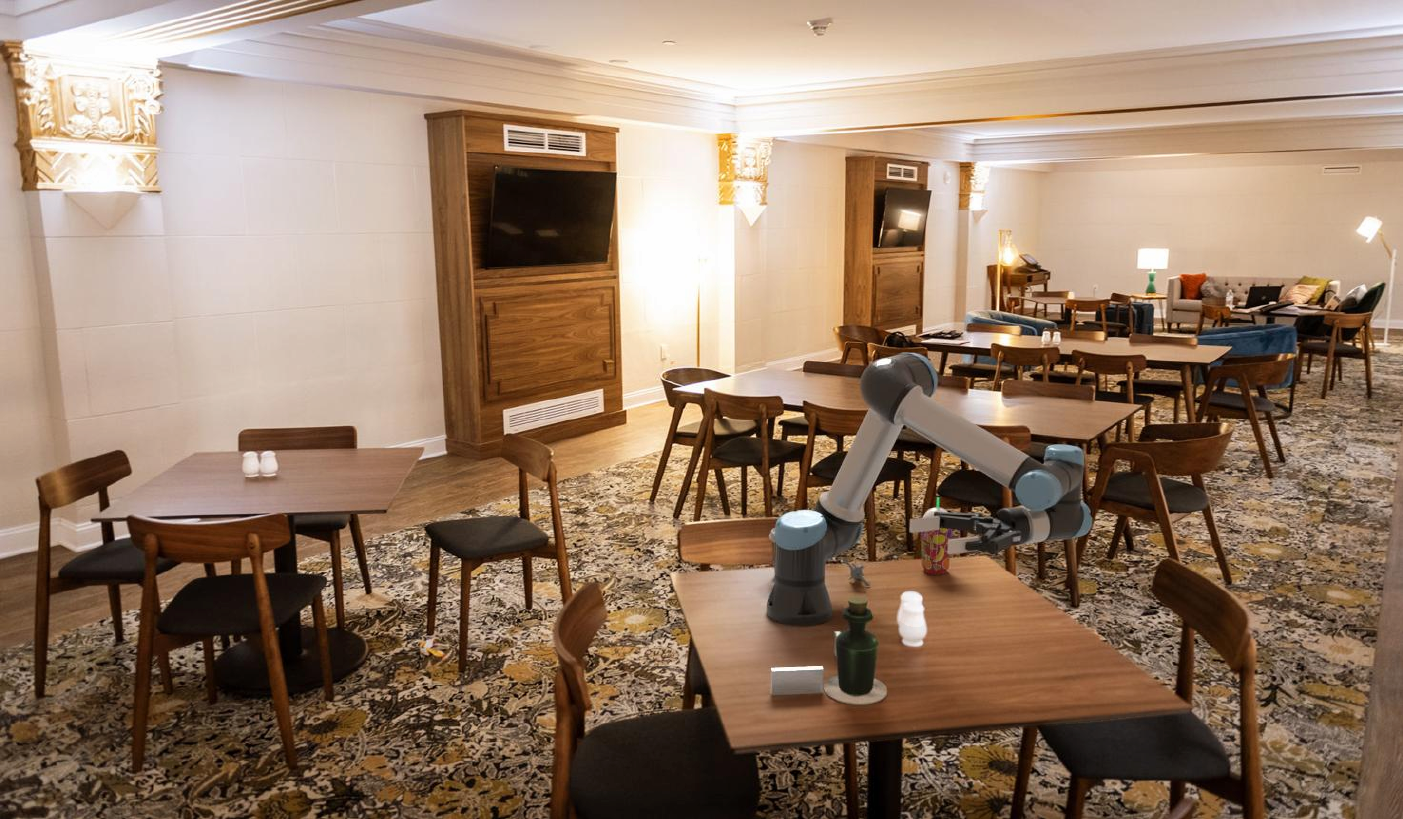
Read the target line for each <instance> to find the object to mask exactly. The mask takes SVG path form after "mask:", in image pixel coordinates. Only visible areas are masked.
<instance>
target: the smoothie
mask: <svg viewBox="0 0 1403 819" xmlns="http://www.w3.org/2000/svg"><path fill="white" fill-rule="evenodd" d="M934 512H948V510H946V509H945V508H943V507H940V497H938V496H937V497H936V506H935V507H932V508H929V509H927V510H926V512H924V515H923V516H922V518H924V517H933V516H934ZM953 531H954V529H945V528H939V530H938V531H936V530H933V531H924V532H920V541H921V567H922V568H923V571H924V573H926V574H928V575H933V576H941V575H945V574H946V573H947V570H948V569H949V568H950V558H951V554H948V553H947V551H948V539H953Z"/></svg>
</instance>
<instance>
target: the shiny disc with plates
mask: <svg viewBox="0 0 1403 819" xmlns="http://www.w3.org/2000/svg"><path fill="white" fill-rule="evenodd" d="M840 633H841V631H834V641H833V642H834V644H833V647H834V648H833V649H834V650H833V654H835V655H834V656H836V657H835V658H836V660H837V654H836V638H837V637H838V635H839V634H840ZM887 689H888V688H887V686H886V685H885V684H884V682H882V681H880V680H879V679H878V678H875V677H874V683H873V688H872V690H871V691H870V692H869V693H867V694H863V695H852V694H848V693H845V692H843V691H842V690H841V689H840V688H839V682H838V675H835V676H832V677H830V678H828V679H827V680H826V681H825V683H824V667H823V665H821V666H819V665H818V666H817V665H816V666H814V665H813V666H795V667H794V666H793V667H792V666H791V667H771V668H770V695H771V696H787V695H812V694H824V692H825V694H826V696H828V697H829V698H830V699H831V700H834V701H836V702H839V703H842V704H845V705H850V706H851V705H852V706H869V705H875V704H877V703H879V702H881V701H884V700H885V699H886V698H887V694H888V690H887Z"/></svg>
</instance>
